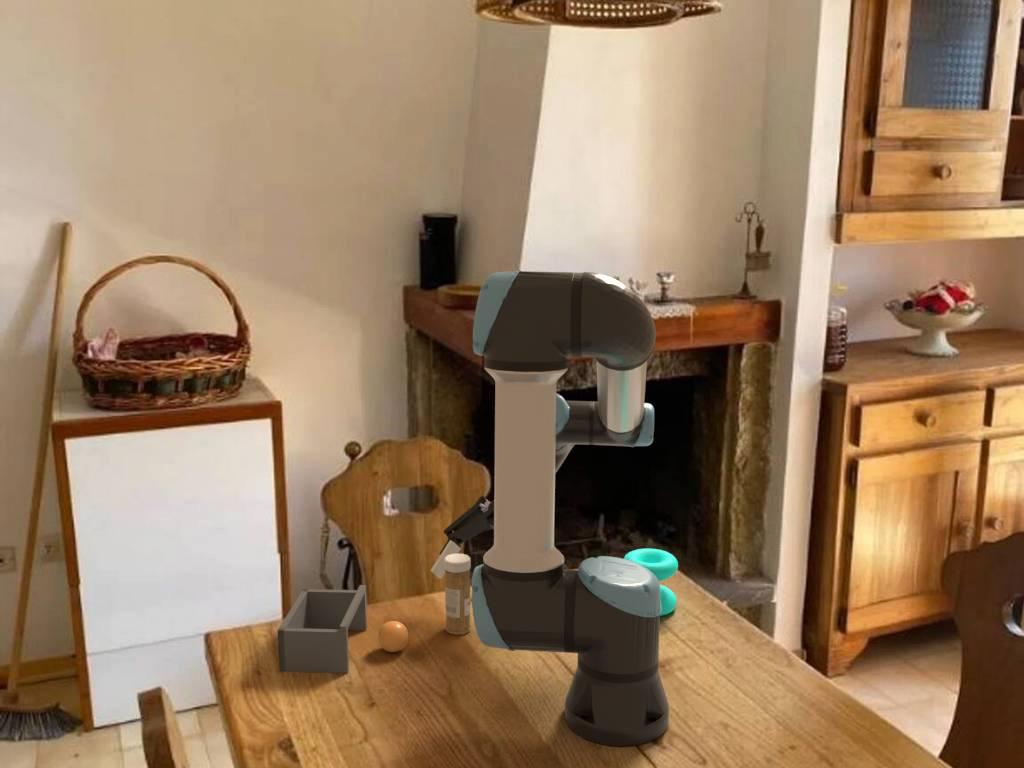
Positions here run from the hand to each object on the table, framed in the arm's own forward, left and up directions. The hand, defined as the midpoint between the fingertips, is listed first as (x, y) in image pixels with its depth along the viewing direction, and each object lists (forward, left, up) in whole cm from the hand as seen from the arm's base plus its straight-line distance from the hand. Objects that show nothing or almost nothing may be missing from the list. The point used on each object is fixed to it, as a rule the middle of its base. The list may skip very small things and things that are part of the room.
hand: (459, 586), depth 171 cm
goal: (-9, +22, -8) cm, 25 cm away
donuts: (+10, -34, -8) cm, 36 cm away
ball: (-9, +10, -5) cm, 15 cm away
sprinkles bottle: (-1, 0, -8) cm, 8 cm away
